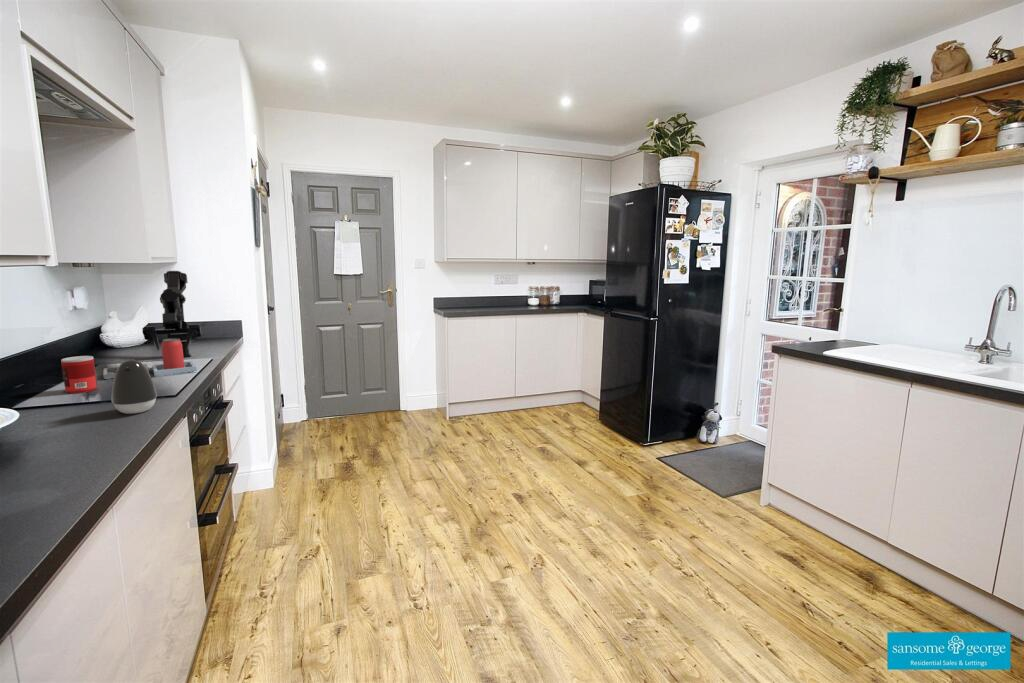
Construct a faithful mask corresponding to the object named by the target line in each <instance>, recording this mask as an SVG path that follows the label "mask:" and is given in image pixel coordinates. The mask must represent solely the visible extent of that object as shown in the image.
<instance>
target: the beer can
mask: <svg viewBox="0 0 1024 683" xmlns="http://www.w3.org/2000/svg"><path fill="white" fill-rule="evenodd" d="M181 341H182V340H180V339H177V338H173V339H168V338H165V339H162V342H161V346H160V347H161V355H162V364H163V366H164V370H166V369H175V368H184V362H185V357H183V348H182V343H181Z"/></svg>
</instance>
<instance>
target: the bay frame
mask: <svg viewBox="0 0 1024 683" xmlns="http://www.w3.org/2000/svg"><path fill="white" fill-rule="evenodd" d="M142 364H143V363H142ZM143 365H144V366H145V368H146V369H147V370H148V372H149V373H150V370H149V367H148V364H147V363H145V364H143ZM118 367H119V366H114V367H113V366H112V367H104V368H103V372H102V373H103V374H102V375H103V380H104V379H109V380H111V379H110V378H114V377H115V374H116V373H108V372H116V371H117V369H118Z"/></svg>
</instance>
